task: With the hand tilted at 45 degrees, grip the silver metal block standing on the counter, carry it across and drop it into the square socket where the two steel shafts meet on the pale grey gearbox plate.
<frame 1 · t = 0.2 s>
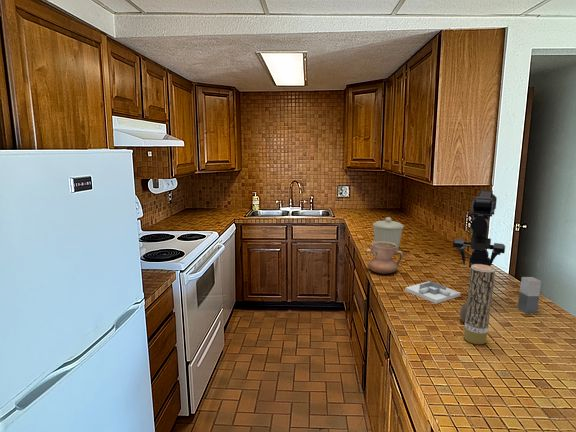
hand: (476, 266, 156), 15 cm above the worktop, tool pointing down, fingers open, 9 cm apart
vase: (469, 323, 137), on the worktop
bark covered log: (474, 340, 125), on the worktop
canister: (386, 251, 230), on the worktop
gearbox plate: (432, 293, 164), on the worktop
ceramic jug: (383, 271, 193), on the worktop
silver metal block: (527, 310, 148), on the worktop
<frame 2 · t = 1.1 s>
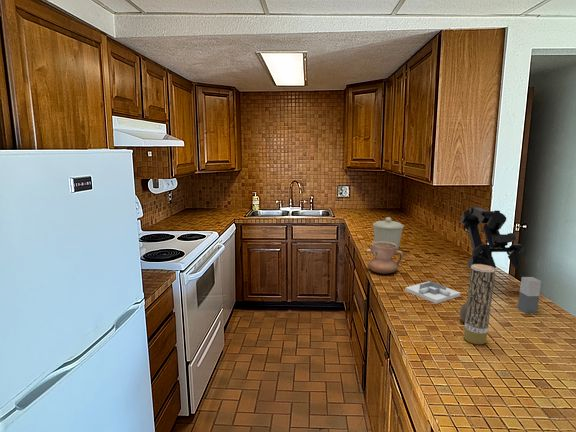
hand: (505, 268, 158), 13 cm above the worktop, tool tilted 45°, fingers open, 9 cm apart
nothing on the worktop moved.
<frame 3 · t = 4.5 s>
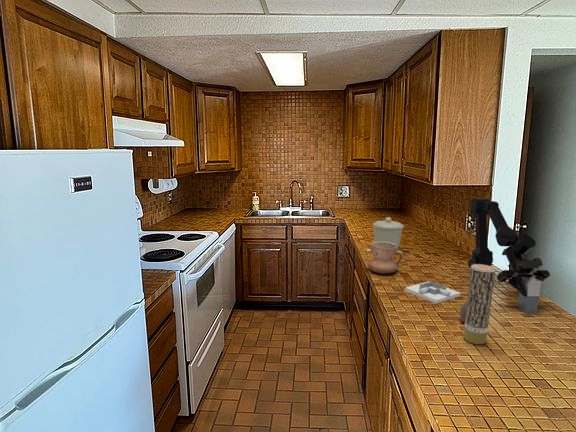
hand: (531, 296, 146), 7 cm above the worktop, tool tilted 45°, fingers closed on silver metal block, 5 cm apart
silver metal block: (527, 310, 148), on the worktop, touching gripper
everything else where it was.
when the fingers open (9 cm above the worktop, at t = 11.8 s): silver metal block stays where it is, resting on gearbox plate.
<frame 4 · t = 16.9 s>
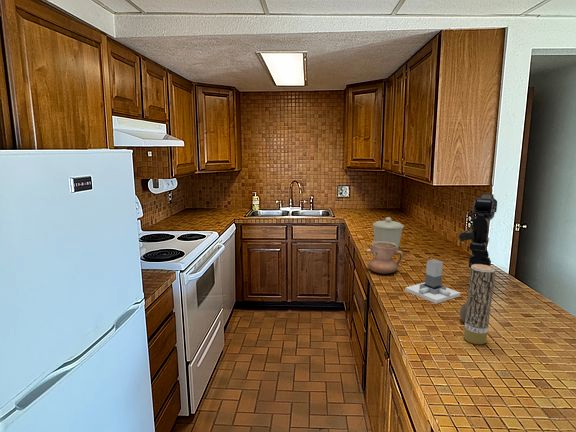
hand: (477, 261, 168), 13 cm above the worktop, tool pointing down, fingers open, 9 cm apart
silver metal block: (432, 290, 164), point 1 cm above the worktop, touching gearbox plate
everything else where it was.
at the end: silver metal block 0.1 cm from the gearbox plate (horizontally); silver metal block point 1.5 cm above the worktop; silver metal block tilted 0° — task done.
